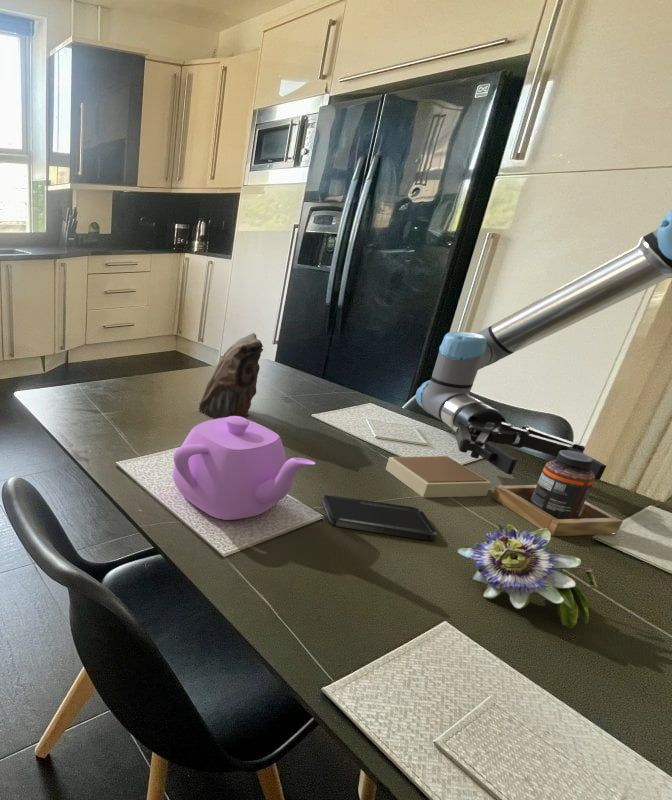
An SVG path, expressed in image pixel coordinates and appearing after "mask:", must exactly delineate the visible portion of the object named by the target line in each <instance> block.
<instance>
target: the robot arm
mask: <svg viewBox="0 0 672 800" xmlns="http://www.w3.org/2000/svg"><path fill="white" fill-rule="evenodd" d="M668 279H672V208H671V209H670V210H669V211H668V212H667V213H666V214H665V216H664V217H663V218H662V220H661V221H660V223H659V225H658V228H656V229H654V230H653V231H650V232H649V233H648V234H645V235H644V236H642V237H640V239H639V242H638V244H637V246H635V247H633V248H632V249H630V250H628V251H626V252H624V253H622V254H621V255H618V256H617V257H615V258H613V259H611V260H609V261H608V262H606V263H604V264H602V265H600V266H599V267H596V268H595V269H593V270H591V271H588V272H587V273H585V274H584V275H582V276H580V277H578V278H576V279H574V280H573V281H571V282H569V283H567V284H565V285H563V286H561V287H560V288H557V289H556V290H554V291H552V292H550V293H549V294H547V295H545V296H543V297H542V298H540V299H537V300H536V301H533V302H532V303H530V304H528V305H526V306H525V307H523V308H521V309H519V310H517V311H516V312H513V313H512V314H509V315H508V316H507V317H504V318H503V319H501V320H499V321H497V322H495V323H493V324H491V325H490V326H488V327H486V328H484V329H482V330H480V331H478V332H476V333H475V332H469V331H449V332H447V333H446V334H445V335H444V336H443V339H442V342H441V344H440V345H439V347H438V348H439V349H438V354H437V357H436V361H435V364H434V368H433V370H432V375H431V378H430V379H429V380H426V381H425V382H423V383H421V385H420V386H419V387H418V388H417V390H416V392H415V401H416V403H417V404H418V406H420V407H421V408H422V409H423V410H424V411H425V412H426V413H428V415H431V416H433V417H434V418H436V419H438V420H439V421H441V422H442V423H444V424H445V425H447V426H448V427H450V428H451V429H452V431H451V434H452V436H455V438H456V443H457V447H458V451H459V452H461V453H468V451H469V452H471V453H470V457H471V458H473V459H479V458H480V457H482V458H483V459H485V460H486V461H488V462H489V463H490V464H492V465H493V466H495V467H496V468H498V470H501V471H502V472H503V473H505V474H506V475H513V472H514V470H515V467H516V465H517V462H518V459H516V457H513V456H512V455H510V454H508V453H507V452H506V451H504V450H502V449H501V448H500V447H498V446H496V445H495V444H500V445H508V446H511V447H515V448H518V449H522V448H526V449H529V450H534V451H536V452H539V453H542V454H546V455H550V456H553V457H555V458H556V457H557V456H558V453H559V451H562V450H569V451H575V452H579V453H582V454H585V453H584V451H585V449H586V446H585V445H582V444H580V443H578V442H574V441H571V440H568V439H565V438H562V437H558V436H557V435H554V434H551V433H547V432H544V431H541V430H538V429H536V428H534V427H532V426H530V425H526V424H523V425H522V427H521V428H520V427H517V426H514V425H513V424H511V423H509V422H508V423H507V421H506V417H505V416H504V415H503V412H501V411H499V410H497V409H495V408H494V407H492V406H490V405H488V404H487V403H485V402H483V401H482V400H479V399H478V398H476V397H474V396H473V395H470V393H471V391H472V388H473V385H474V383H475V379H476V377H477V374H478V371H479V370H481V369H484V368H485V367H488V366H490V365H493V364H494V363H496V362H499V361H500V360H502V359H505V358H506V357H508V356H511V355H513V354H514V353H516V352H518V351H520V350H522V349H525V348H526V347H528V346H530V345H533V344H534V343H538V342H539V341H541V340H543V339H545V338H548V337H549V336H551V335H553V334H555V333H557V332H559V331H562V330H564V329H566V328H568V327H570V326H572V325H574V324H577V323H579V322H581V321H583V320H585V319H587V318H589V317H591V316H593V315H596V314H597V313H599V312H602V311H604V310H605V309H607V308H609V307H612V306H614V305H617V304H619V303H620V302H623V301H624V300H626V299H629V298H631V297H633V296H635V295H637V294H639V293H641V292H643V291H646V290H647V289H649V288H651V287H653V286H655V285H657V284H660V283H662V282H664V281H666V280H668ZM517 438H519V440H518V442H516V441H517ZM493 443H494V444H493ZM585 455H587V454H585ZM587 456H589V455H587ZM591 458H592V459H593V463H592V465H591V467H590V470H591V471H592V472H593V473H594V475H595V479H594V481H595V480H596V481H601V478H602V476H603V475H604V472H605V470H606V468H607V465H606V464H605V463H603V462H601V461H599V460H597V459H595V458H593V457H591Z"/></svg>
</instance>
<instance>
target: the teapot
mask: <svg viewBox="0 0 672 800" xmlns="http://www.w3.org/2000/svg"><path fill="white" fill-rule="evenodd" d="M283 444H284V443H283V442H282V439H281V437H280V435H279V434H278V433H276V432H275V431H273V430H272V429H270V428H268V427H266V426H264V425H262V424H259V423H257V422H255V421H253V420H251V419H248V418H247V419H246V418H243V417H240V416H230V417H225V418H218V419H214V418H212V419H208V420H205V421H203V422H200V423H198V424H196V425H194V426H193V427H192V428H191V430H190V431H189V433H188V435H187V436H186V437H185V439H184V441H183V443H182V444H181V446H179V447H177V448H176V449H175V450H174V453H173V457H172V458H173V463H174V464H173V468H172V469H173V470H172V479H173V482H174V484H175V486H176V488H177V490H178V492H179V493H180V494H181V495H182V496H183V497H184V498H185V499H186V500H187V501H189V502H190V503H191V504H192V505H194V506H195V507H197V508H198V509H199V510H201V511H202V512H204V513H206V514H207V515H208V516H211V517H213V518H216V519H219V520H225V521H226V520H227V521H231V520H232V521H233V520H243V519H247V518H252V517H256V516H259V515H261V514H263V513H265V512H267V511H268V510H270V509H271V508H273V507H274V506H275V505H276V504H278V503H279V502H280V501H281V500H283V499H284V498H285V497H286V496H287V495H289V492H290V491H291V489H292V486H293V484H294V480H295V478H296V475H297V473H298V472H299V471H300V469H301V468H304V467H309V466H314V465H316V462H315V461H313V460H311V459H308V458H305V457H291V458H289V459H287V456H286V452H285V448H284V445H283Z"/></svg>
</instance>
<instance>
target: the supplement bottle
mask: <svg viewBox="0 0 672 800" xmlns="http://www.w3.org/2000/svg"><path fill="white" fill-rule="evenodd" d="M592 458H593V457H591V456H589V455H588V456H587V454H586V455H585V453H584V454H582V453H579V452H575V451H569V450H562V451H559V453H558V456H557V457H556V456H555V459H553V460H550V461H548V462H546V463H545V465H544V466H543V469H542V471H541V473H540V476H539V478H538V481H537V484H536V485H537V486H536V488H535V491H534V493H533V495H532V498H531V500H529V502H530V503H531V504H533V505H535V506H536V507H538V508H540V509H541V510H543V511H545V512H546V513H548V514H550V515H551V516H553V517H555V518H556V519H578V518H579V516H578V515H579V513H580V511H581V508H582V506H583V504H584V502H585V501H586V500H587V497H588V496H589V494H590V491H591V488H592V487H593V484H594V481H595V475H594V473H593V472H592V471H591V470H590V467H591V465H592V463H593V459H594V458H593V459H592Z"/></svg>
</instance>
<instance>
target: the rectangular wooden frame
mask: <svg viewBox="0 0 672 800" xmlns="http://www.w3.org/2000/svg"><path fill="white" fill-rule="evenodd" d="M536 486H537V484H513V485H496V486H495V488H494V490H493V493H492V495H491V499H493V500H494V501H496V502H497V503H499V504H501V505H502V506H504V507H505V508H507V509H509V510H510V511H511V512H514V513H515V514H517V515H518V516H520V517H521V518H523V519H524V520H526V521H528V522H529V523H531V524H532V525H534V526H536V527H537V528H538V529H543V528H545V529H546V528H548V529H549V531H550V532H551V537H566V536H567V537H570V536H571V537H572V536H573V537H574V536H601V535H600V534H605V535H613V534H612V533H618V532H619V529H620V528H621V526H622V524H623V520H622V519H620V518H618V517H616V516H614V515H612V514H610V513H608V512H607V511H605V510H603V509H601V508H599V507H597V506H595V505H593V504H592V503H590V502H588V501H586V500H585V502H584V504H583V506H582V508H581V511H580V513H579V515H578V518H577V519H556V518H555V517H553V516H551V515H550V514H548V513H546V512H545V511H543V510H541V509H540V508H538V507H536V506H535V505H533V504H531V503H530V500H531V498H532V495H533V493H534V491H535V488H536Z"/></svg>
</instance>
